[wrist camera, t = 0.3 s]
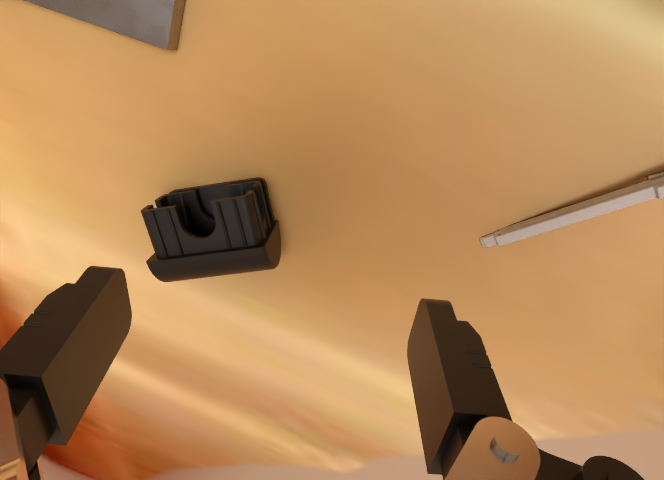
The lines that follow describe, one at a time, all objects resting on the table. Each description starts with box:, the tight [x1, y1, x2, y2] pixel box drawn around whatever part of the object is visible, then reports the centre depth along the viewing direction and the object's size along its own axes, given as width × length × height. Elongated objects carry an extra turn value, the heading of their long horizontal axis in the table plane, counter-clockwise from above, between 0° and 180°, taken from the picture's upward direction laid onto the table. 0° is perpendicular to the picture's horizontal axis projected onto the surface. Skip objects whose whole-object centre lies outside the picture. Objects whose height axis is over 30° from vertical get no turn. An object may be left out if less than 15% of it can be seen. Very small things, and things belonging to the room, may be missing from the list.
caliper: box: [479, 171, 664, 248], centre depth 35 cm, size 20×1×6 cm, turn 117°
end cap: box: [141, 177, 281, 282], centre depth 38 cm, size 10×7×7 cm
